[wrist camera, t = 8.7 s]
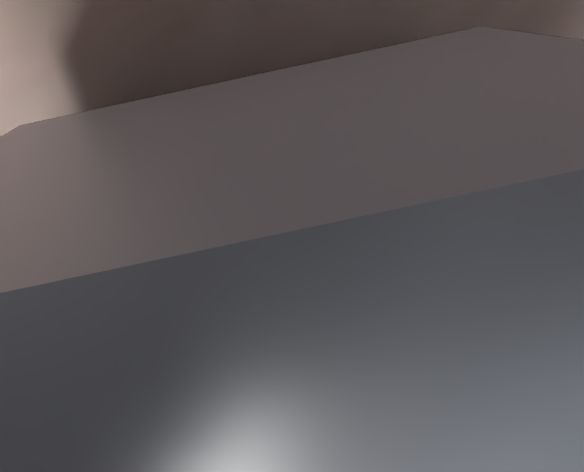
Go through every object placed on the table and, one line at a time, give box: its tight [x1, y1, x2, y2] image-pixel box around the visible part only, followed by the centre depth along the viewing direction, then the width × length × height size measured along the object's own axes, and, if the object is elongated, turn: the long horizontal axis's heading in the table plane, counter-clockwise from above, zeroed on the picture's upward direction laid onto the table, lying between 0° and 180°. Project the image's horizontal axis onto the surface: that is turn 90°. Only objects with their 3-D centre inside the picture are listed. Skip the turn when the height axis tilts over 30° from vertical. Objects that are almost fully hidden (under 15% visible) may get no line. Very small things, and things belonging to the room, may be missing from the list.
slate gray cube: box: [0, 26, 584, 472], centre depth 10 cm, size 10×10×9 cm
